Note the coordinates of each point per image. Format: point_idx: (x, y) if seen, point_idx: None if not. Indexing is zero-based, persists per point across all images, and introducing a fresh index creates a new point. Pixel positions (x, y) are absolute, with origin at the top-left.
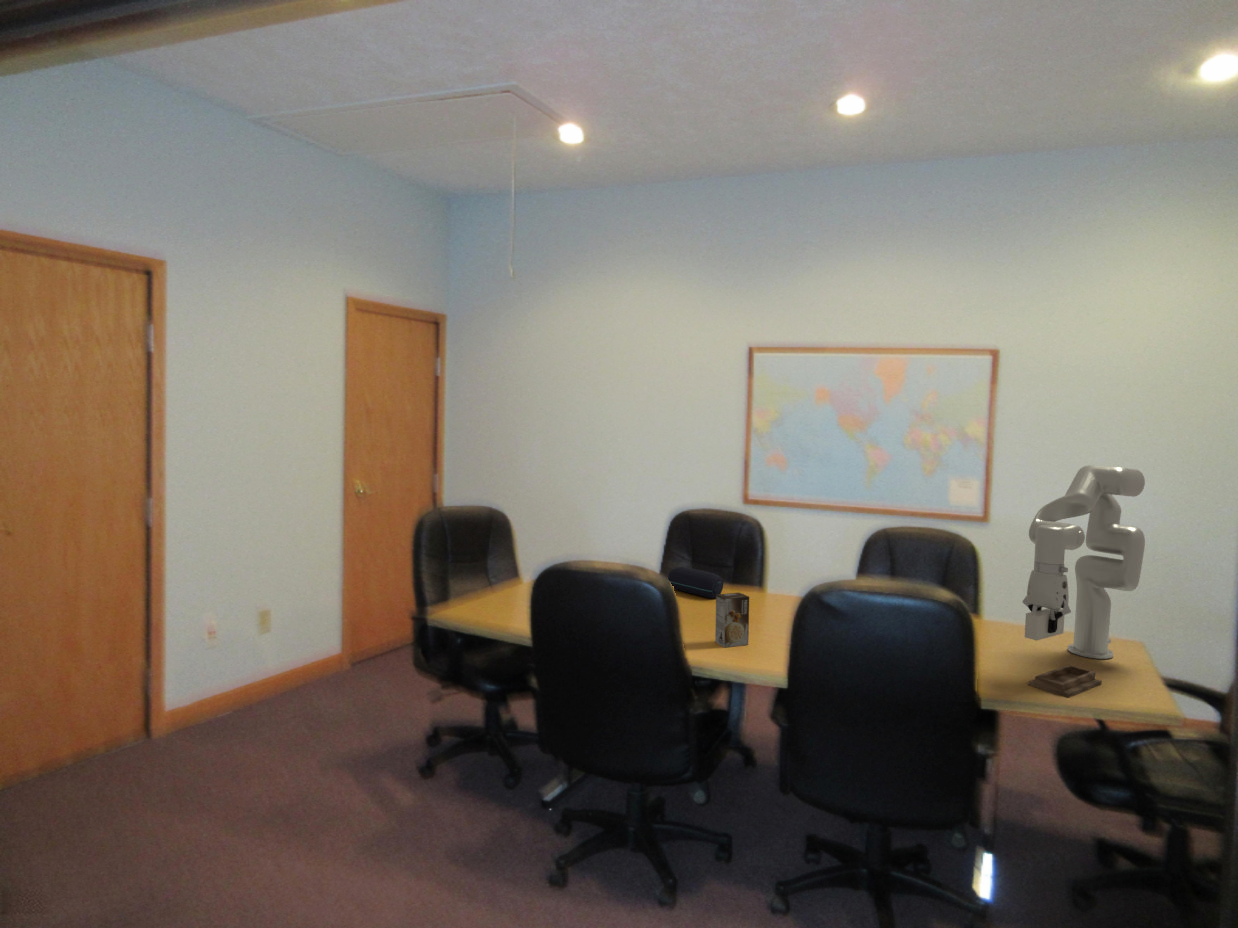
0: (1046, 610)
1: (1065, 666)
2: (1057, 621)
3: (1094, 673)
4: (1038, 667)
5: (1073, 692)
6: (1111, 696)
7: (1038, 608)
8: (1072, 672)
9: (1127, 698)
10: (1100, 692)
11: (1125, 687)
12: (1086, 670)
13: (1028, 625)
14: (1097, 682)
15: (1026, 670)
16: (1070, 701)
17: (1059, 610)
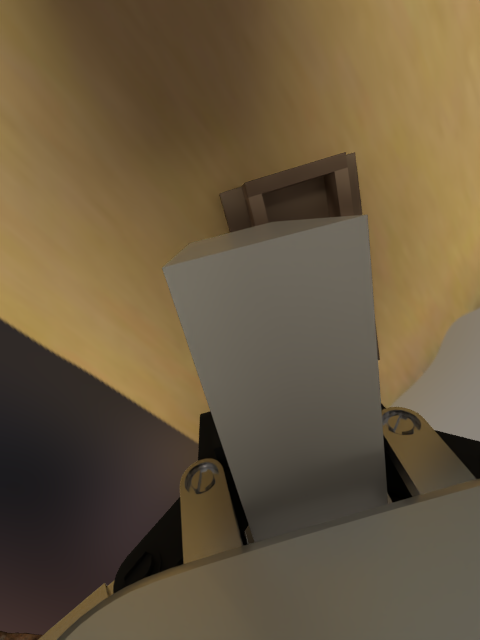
0: (285, 482)
1: (258, 218)
2: (383, 407)
3: (345, 163)
4: (151, 232)
5: (376, 336)
6: (423, 232)
7: (210, 534)
8: (266, 193)
9: (454, 196)
10: (390, 235)
11: (403, 93)
12: (318, 172)
13: None
14: (358, 186)
15: (171, 300)
16: (391, 370)
17: (350, 329)
